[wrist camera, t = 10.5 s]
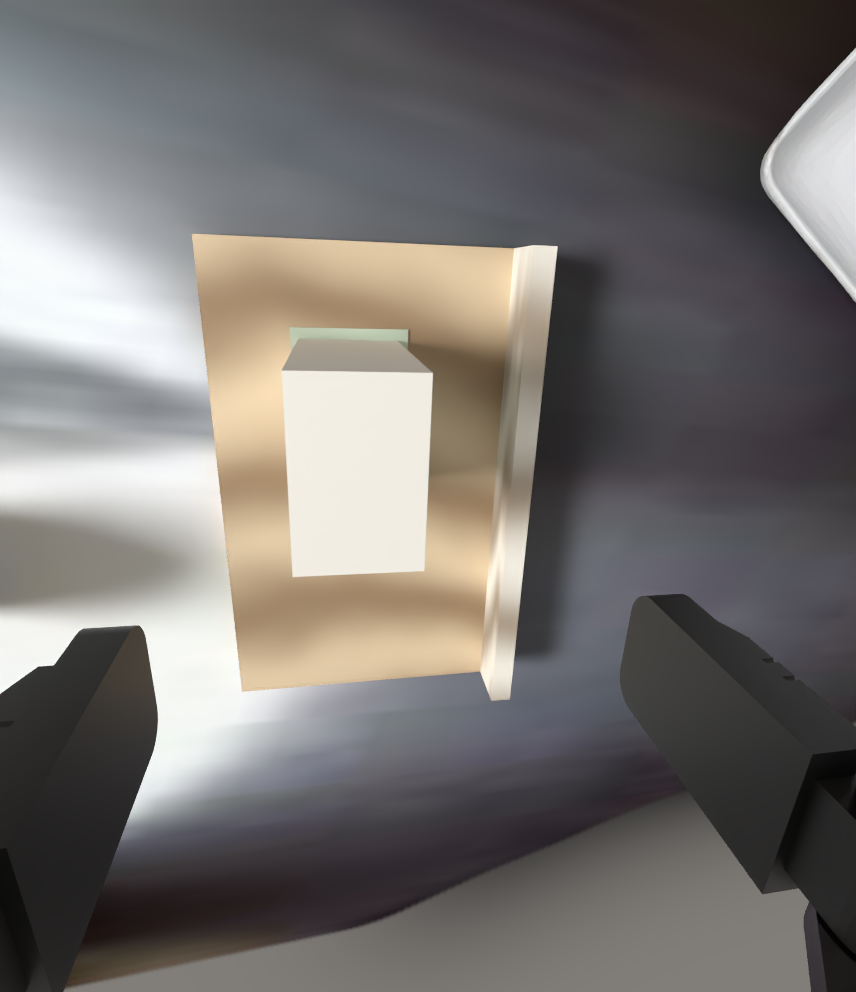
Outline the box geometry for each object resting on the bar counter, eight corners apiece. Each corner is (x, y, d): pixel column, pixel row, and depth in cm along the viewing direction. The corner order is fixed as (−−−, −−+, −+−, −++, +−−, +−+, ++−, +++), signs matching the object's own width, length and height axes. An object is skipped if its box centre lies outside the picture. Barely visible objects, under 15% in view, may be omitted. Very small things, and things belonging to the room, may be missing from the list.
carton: (399, 479, 26) (431, 570, 18) (304, 481, 26) (292, 577, 17) (402, 341, 24) (440, 373, 16) (298, 338, 23) (281, 370, 15)
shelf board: (494, 658, 33) (511, 699, 29) (244, 678, 30) (235, 724, 27) (530, 250, 25) (559, 246, 22) (197, 235, 22) (176, 228, 19)
